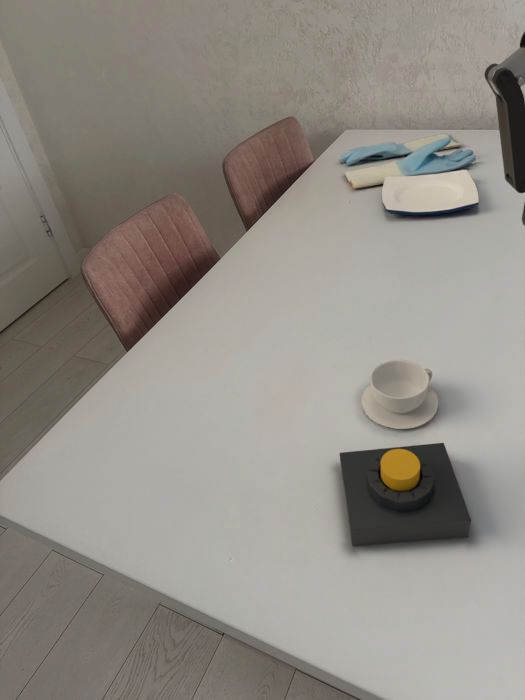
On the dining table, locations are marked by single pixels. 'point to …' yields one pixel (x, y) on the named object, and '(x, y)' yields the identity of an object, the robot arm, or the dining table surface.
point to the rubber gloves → (406, 160)
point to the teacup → (400, 395)
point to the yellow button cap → (400, 469)
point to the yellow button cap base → (403, 499)
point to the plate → (429, 193)
